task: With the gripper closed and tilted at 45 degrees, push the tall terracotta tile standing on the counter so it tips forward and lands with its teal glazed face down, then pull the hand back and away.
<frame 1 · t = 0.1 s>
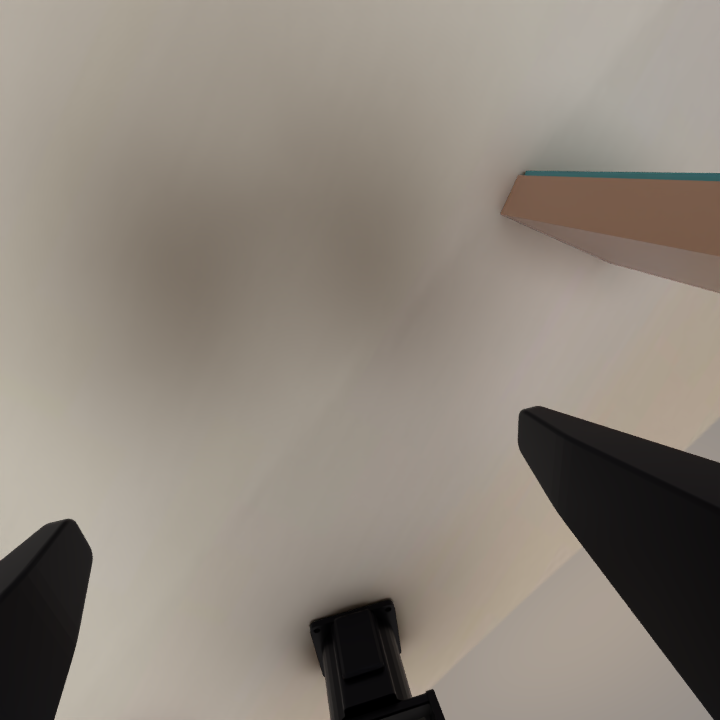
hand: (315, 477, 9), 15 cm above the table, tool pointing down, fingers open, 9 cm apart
tile: (567, 222, 23), on the table
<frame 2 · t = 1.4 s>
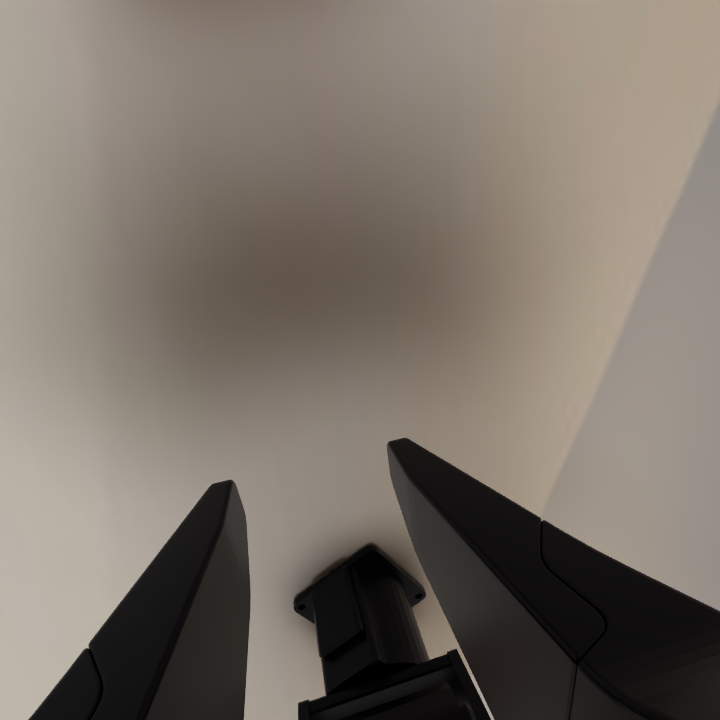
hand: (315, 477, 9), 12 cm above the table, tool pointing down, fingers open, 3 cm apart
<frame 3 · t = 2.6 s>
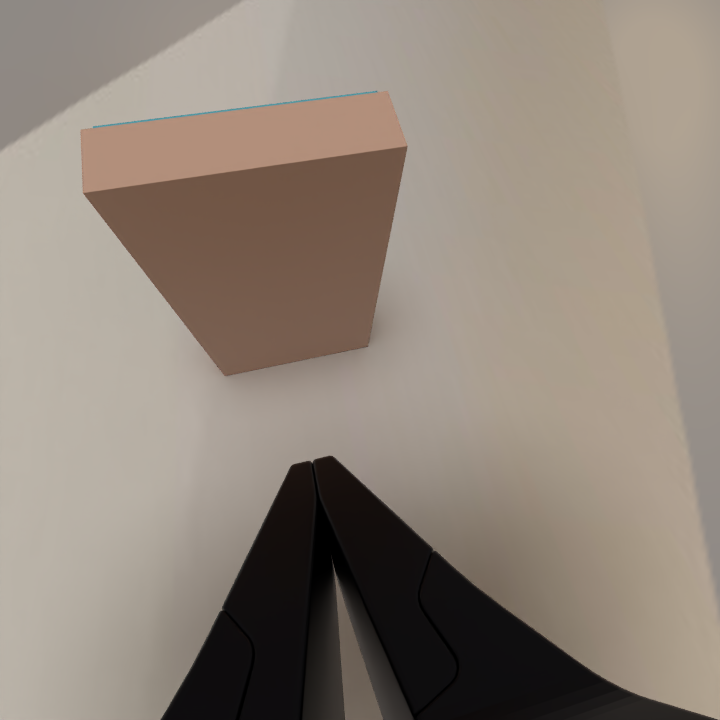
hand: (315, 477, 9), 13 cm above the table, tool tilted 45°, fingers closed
tile: (294, 344, 24), on the table
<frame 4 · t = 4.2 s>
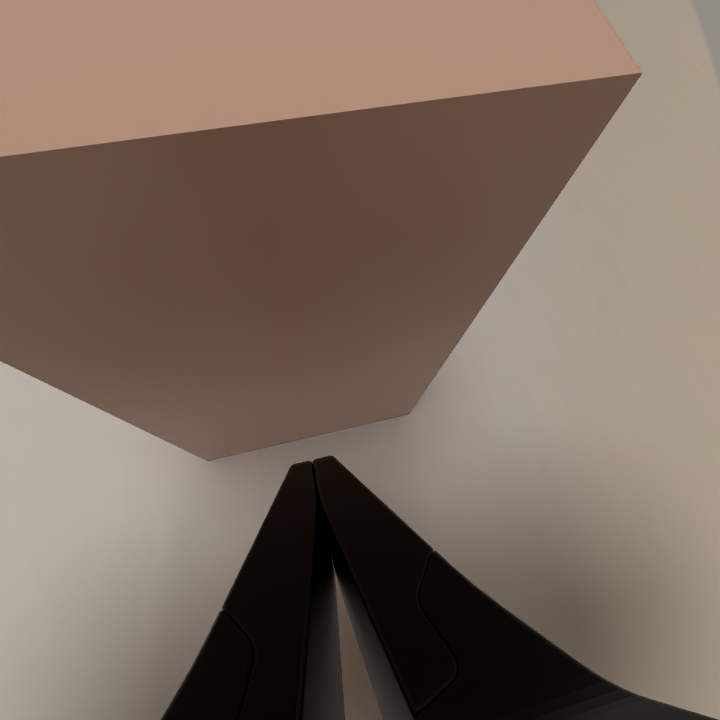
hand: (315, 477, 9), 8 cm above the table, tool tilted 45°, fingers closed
tile: (306, 412, 17), on the table
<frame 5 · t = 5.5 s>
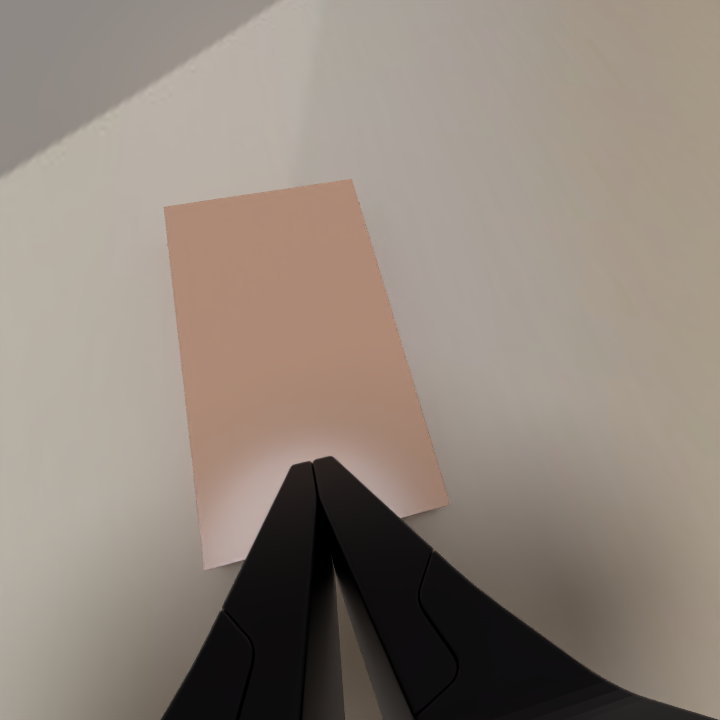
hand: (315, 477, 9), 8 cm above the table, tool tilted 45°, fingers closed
tile: (332, 535, 15), point 1 cm above the table, tilted 90°
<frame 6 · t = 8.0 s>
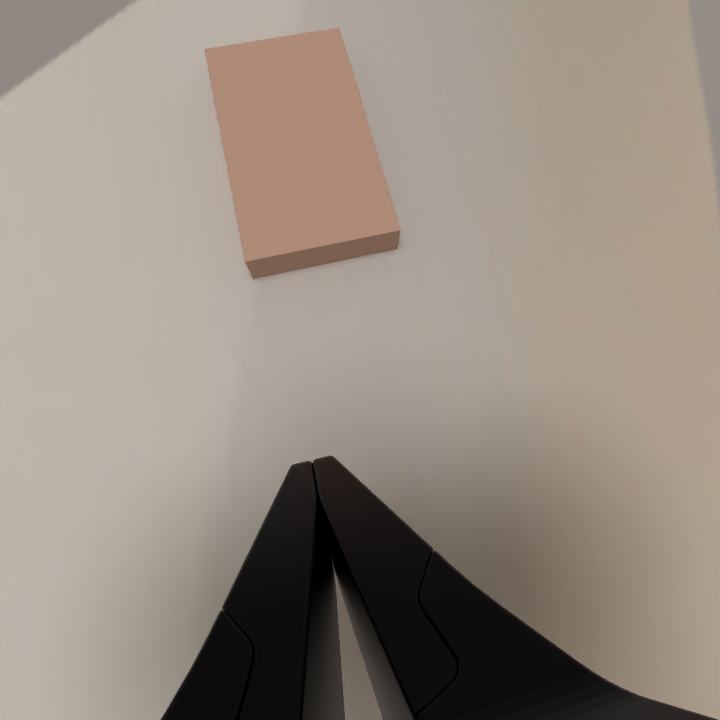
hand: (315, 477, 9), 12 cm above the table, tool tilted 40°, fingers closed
tile: (325, 255, 23), point 1 cm above the table, tilted 90°
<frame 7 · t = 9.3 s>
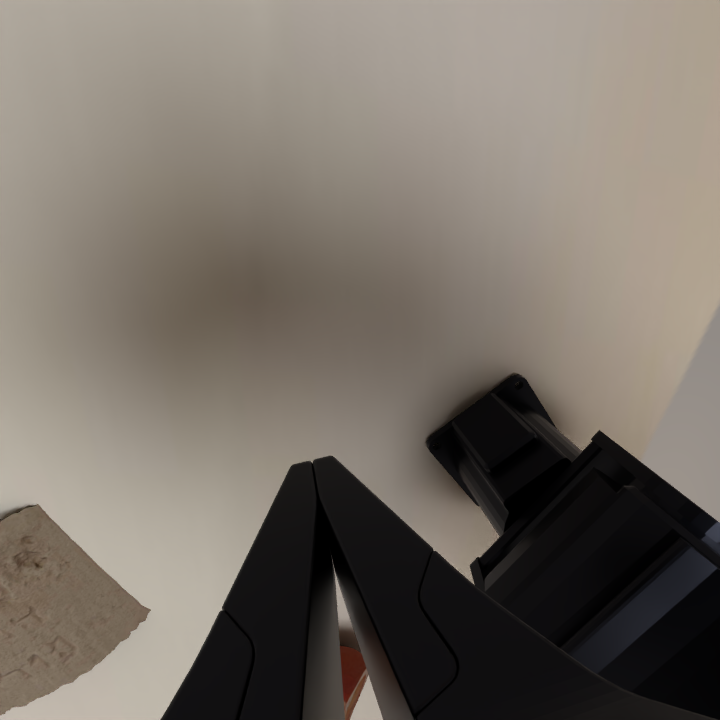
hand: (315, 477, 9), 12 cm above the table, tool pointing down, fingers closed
fruit slice: (317, 657, 30), on the table
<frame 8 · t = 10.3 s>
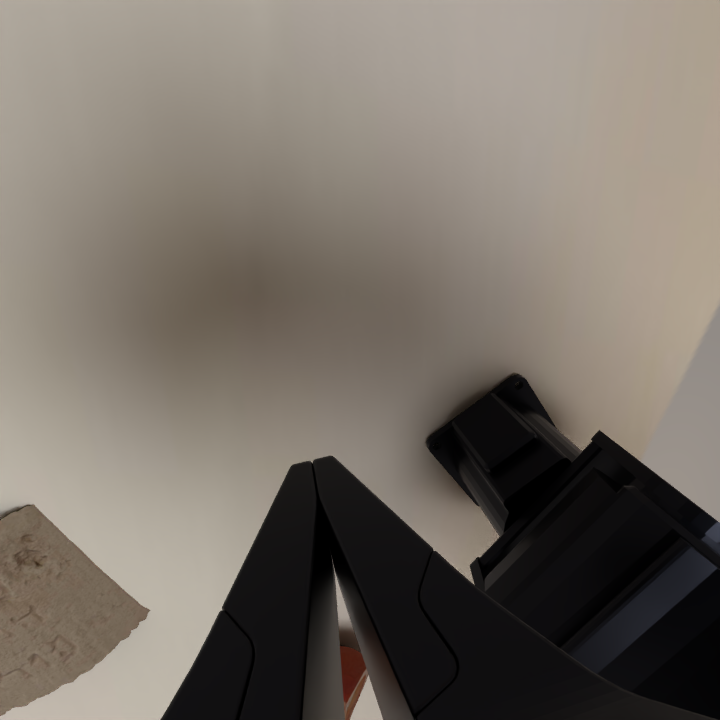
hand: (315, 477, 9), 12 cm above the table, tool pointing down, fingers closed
fruit slice: (317, 657, 30), on the table
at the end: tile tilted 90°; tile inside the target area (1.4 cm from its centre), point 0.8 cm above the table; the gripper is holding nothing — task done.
